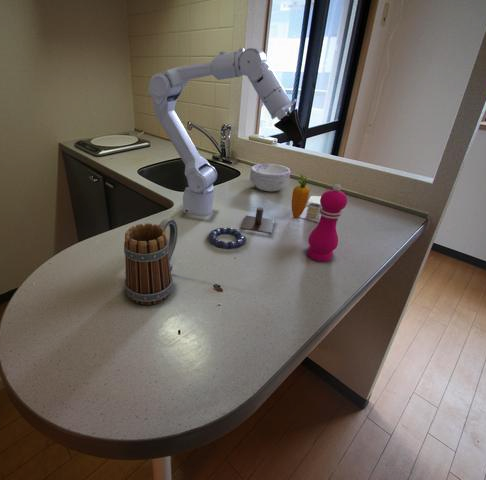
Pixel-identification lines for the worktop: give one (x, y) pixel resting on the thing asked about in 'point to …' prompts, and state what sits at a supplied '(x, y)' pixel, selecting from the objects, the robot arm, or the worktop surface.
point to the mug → (149, 261)
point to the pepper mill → (327, 225)
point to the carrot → (300, 197)
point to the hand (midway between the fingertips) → (300, 140)
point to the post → (258, 222)
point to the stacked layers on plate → (312, 209)
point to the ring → (226, 245)
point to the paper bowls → (269, 176)
